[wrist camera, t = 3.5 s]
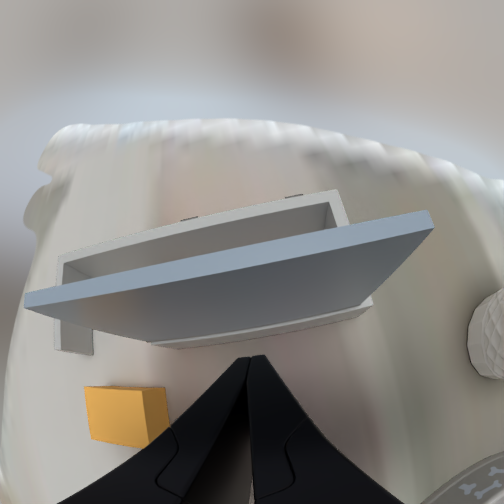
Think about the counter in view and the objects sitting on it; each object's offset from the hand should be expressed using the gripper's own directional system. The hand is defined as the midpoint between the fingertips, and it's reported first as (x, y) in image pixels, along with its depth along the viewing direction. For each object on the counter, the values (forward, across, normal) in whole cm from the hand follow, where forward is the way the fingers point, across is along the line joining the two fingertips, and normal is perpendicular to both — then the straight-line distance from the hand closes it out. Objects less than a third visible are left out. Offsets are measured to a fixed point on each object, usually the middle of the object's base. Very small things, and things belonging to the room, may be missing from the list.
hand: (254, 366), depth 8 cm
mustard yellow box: (+5, -11, -10) cm, 15 cm away
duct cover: (+3, -1, +1) cm, 3 cm away
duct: (+11, -5, -3) cm, 13 cm away
